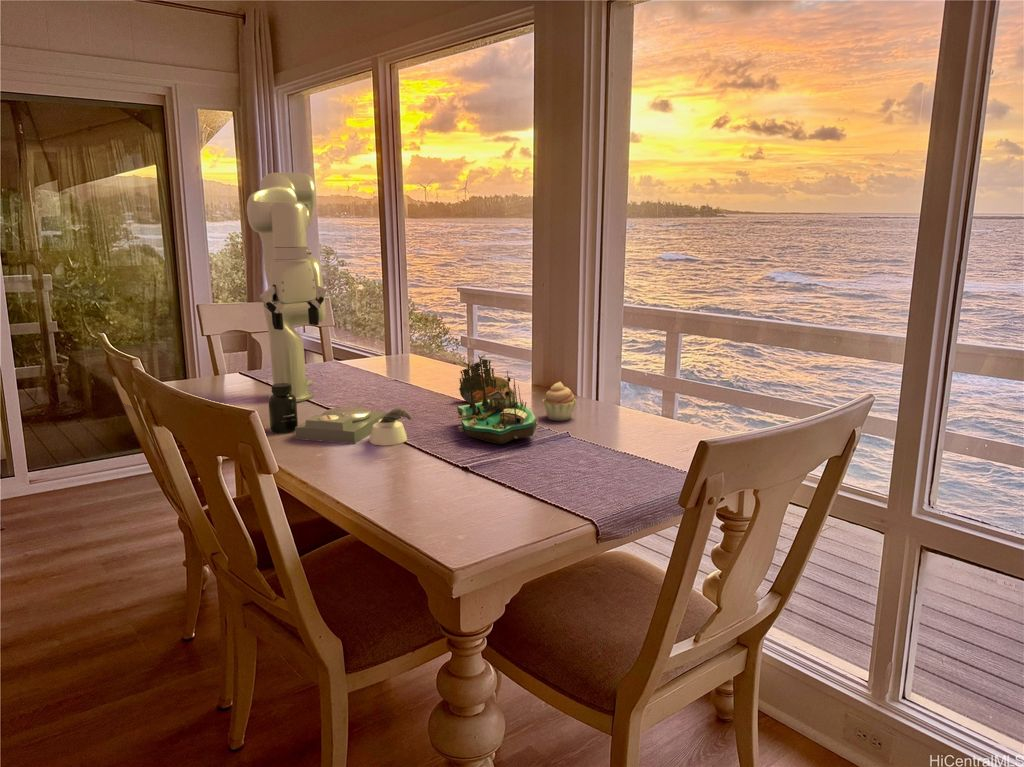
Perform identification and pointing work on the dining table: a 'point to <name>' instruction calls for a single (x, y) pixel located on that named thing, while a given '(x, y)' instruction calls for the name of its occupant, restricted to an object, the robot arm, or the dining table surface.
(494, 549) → the dining table surface
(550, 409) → the cupcake
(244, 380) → the dining table surface
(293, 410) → the supplement bottle
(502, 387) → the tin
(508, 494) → the dining table surface
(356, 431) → the scale
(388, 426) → the inkwell
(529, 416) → the diorama
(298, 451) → the dining table surface
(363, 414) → the scale pan
